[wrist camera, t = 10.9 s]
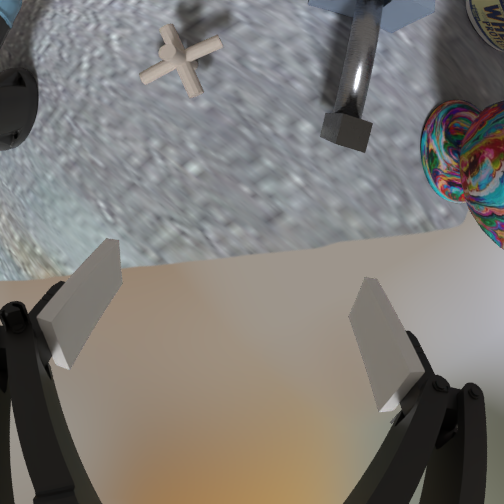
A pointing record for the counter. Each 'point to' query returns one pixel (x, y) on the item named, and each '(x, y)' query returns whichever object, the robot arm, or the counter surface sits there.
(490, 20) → the supplement tub
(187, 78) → the pipe connector
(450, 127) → the vase
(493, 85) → the counter surface
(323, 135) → the shaft
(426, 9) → the pillow block
